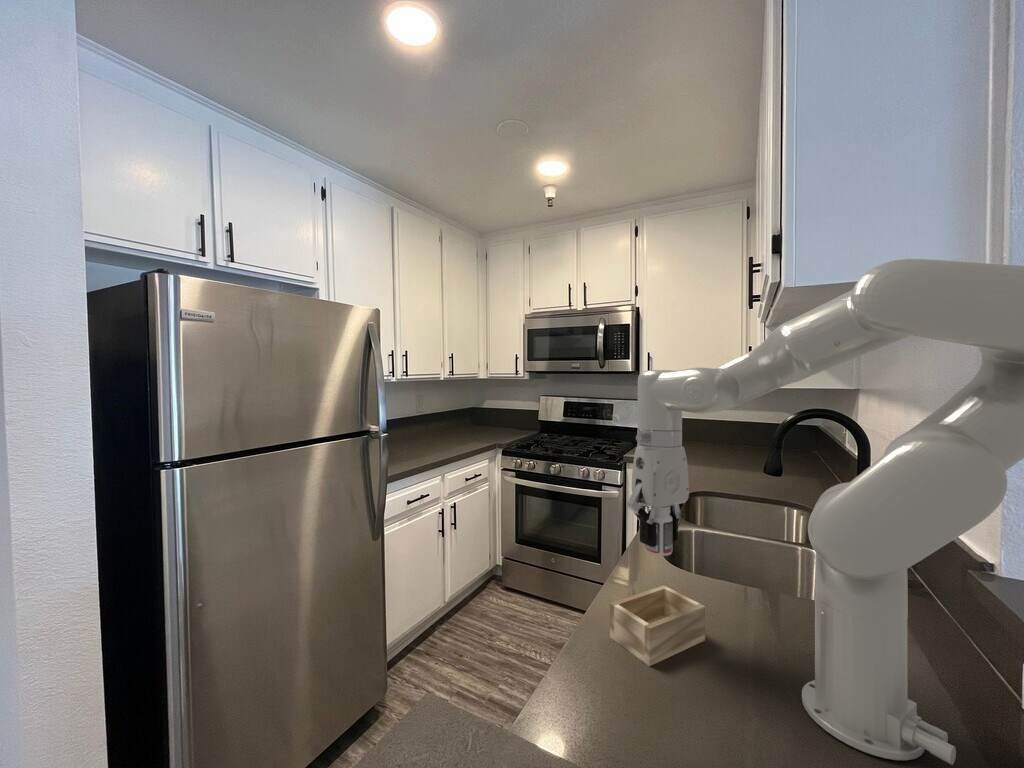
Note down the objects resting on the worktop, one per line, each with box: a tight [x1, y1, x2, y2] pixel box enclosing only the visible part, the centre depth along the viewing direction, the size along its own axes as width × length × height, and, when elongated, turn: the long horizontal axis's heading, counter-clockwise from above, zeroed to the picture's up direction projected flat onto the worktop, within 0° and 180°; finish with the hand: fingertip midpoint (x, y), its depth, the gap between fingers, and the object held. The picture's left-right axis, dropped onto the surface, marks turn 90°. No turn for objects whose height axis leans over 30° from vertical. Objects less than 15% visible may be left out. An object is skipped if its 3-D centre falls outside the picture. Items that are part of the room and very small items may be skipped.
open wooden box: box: [609, 584, 706, 667], centre depth 74 cm, size 9×14×6 cm, turn 120°
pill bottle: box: [644, 506, 674, 557], centre depth 74 cm, size 5×5×8 cm
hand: (658, 540), depth 74 cm, fingers closed on pill bottle, 4 cm apart
